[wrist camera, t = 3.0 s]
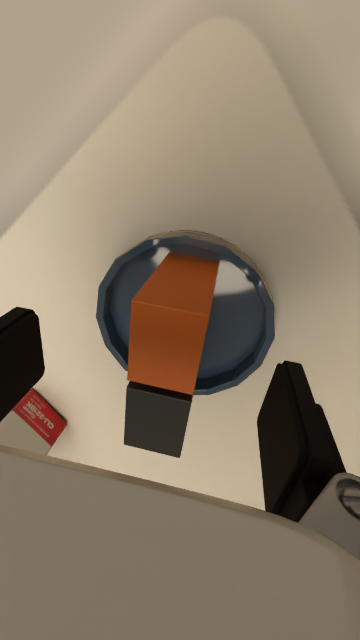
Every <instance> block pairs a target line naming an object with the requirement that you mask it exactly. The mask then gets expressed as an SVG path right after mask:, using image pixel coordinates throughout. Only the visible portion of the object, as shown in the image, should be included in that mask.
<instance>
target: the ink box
mask: <svg viewBox="0 0 360 640" xmlns="http://www.w3.org/2000/svg"><path fill="white" fill-rule="evenodd" d="M66 425H67V423H66V422H65V421H64V420H63V419H62V418H61V417H60V416H59V415H58V414H57V413H56V412H55V411H54V410H53V409H52V408H51V407H50V406H49V405H48V404H47V403H46V402H45V401H44V400H43V399H42V398H41V397H40V396H39V395H38V394H37V393H36V392H35V391H34V390H33V389H31V390H30V391H29V392H28V393H27V394H26V395H25V396H24V397H23V398H22V399H21V400H20V401H19V403H18V404H17V405H16V406H15V407H14V408H13V409H12V410H11V411H10V412H9V413H8V415H7V416H6V417H5V418H4V419H3V420H2V421H1V422H0V445H5V446H9V447H13V448H17V449H21V450H26V451H30V452H34V453H38V454H42V455H46V454H47V453H48V452H49V450H50V449H51V447H52V446H53V444H54V443H55V441H56V440H57V438H58V437H59V435H60V434H61V433H62V431H63V430H64V428H65V427H66Z"/></svg>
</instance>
